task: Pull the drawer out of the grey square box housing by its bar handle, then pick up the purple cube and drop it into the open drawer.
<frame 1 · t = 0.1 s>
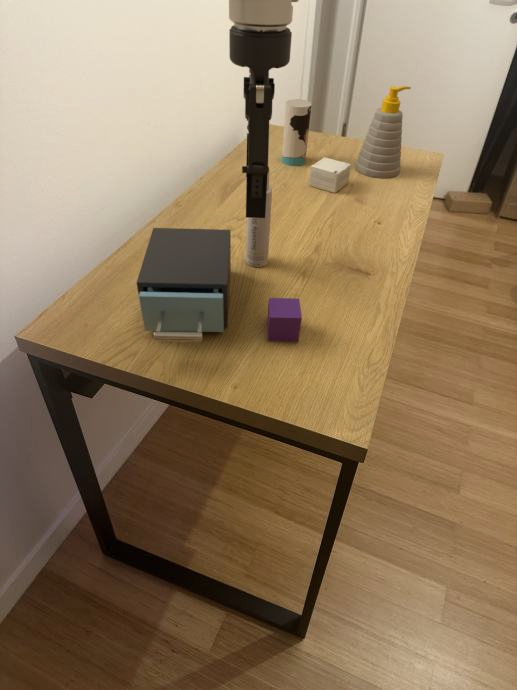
hand: (255, 195, 69), 19 cm above the table, tool pointing down, fingers open, 13 cm apart
drawer: (185, 296, 75), point 4 cm above the table, slide at 1.0 cm
grey square box housing: (190, 296, 82), on the table
soap bottle: (376, 169, 128), on the table
purple cube: (282, 331, 76), on the table
small box: (328, 185, 119), on the table
bottle: (256, 262, 92), on the table
cup: (293, 161, 130), on the table
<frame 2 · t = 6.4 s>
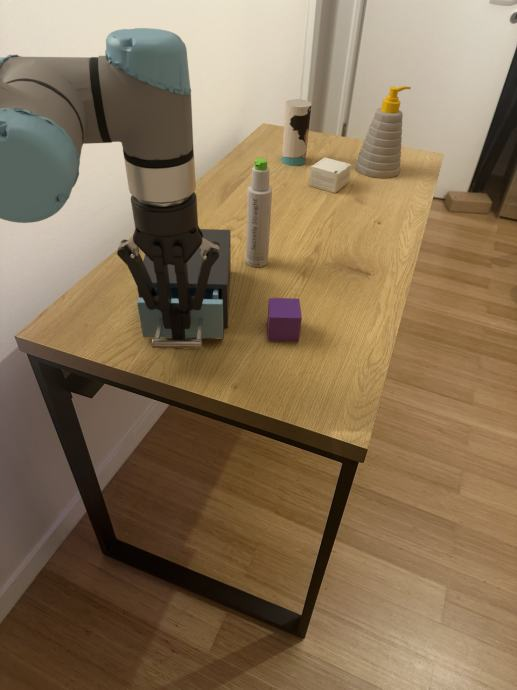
hand: (179, 342, 69), 3 cm above the table, tool pointing down, fingers closed
drawer: (184, 302, 74), point 4 cm above the table, slide at 2.5 cm, touching gripper
everything else where it was.
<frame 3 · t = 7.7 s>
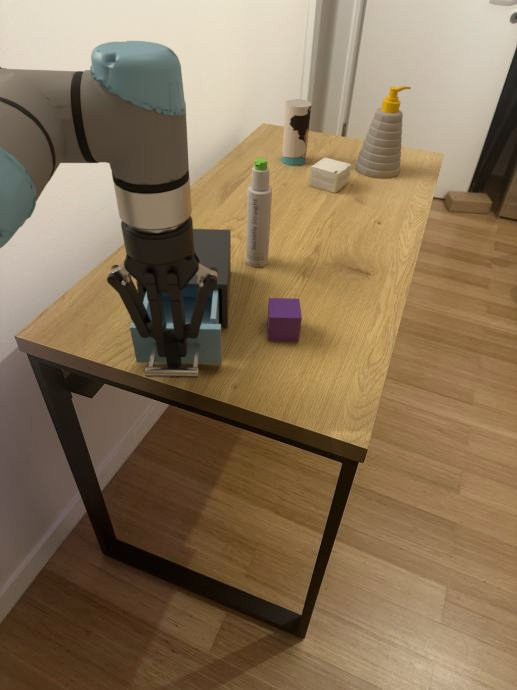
hand: (175, 370, 65), 3 cm above the table, tool pointing down, fingers closed
drawer: (180, 325, 70), point 4 cm above the table, slide at 8.2 cm, touching gripper
everything else where it was.
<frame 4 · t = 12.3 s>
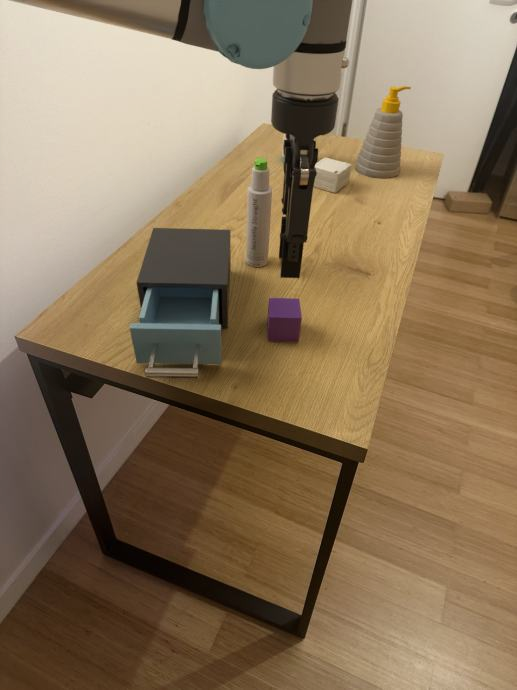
hand: (288, 266, 68), 13 cm above the table, tool pointing down, fingers open, 4 cm apart
drawer: (180, 325, 70), point 4 cm above the table, slide at 8.3 cm
everything else where it was.
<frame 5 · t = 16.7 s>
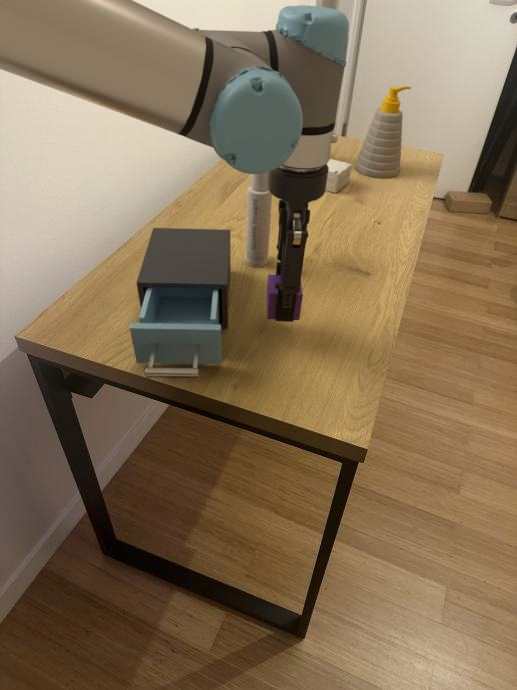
hand: (283, 308, 73), 5 cm above the table, tool pointing down, fingers closed on purple cube, 5 cm apart
purple cube: (282, 309, 73), point 5 cm above the table, touching gripper
everything else where it was.
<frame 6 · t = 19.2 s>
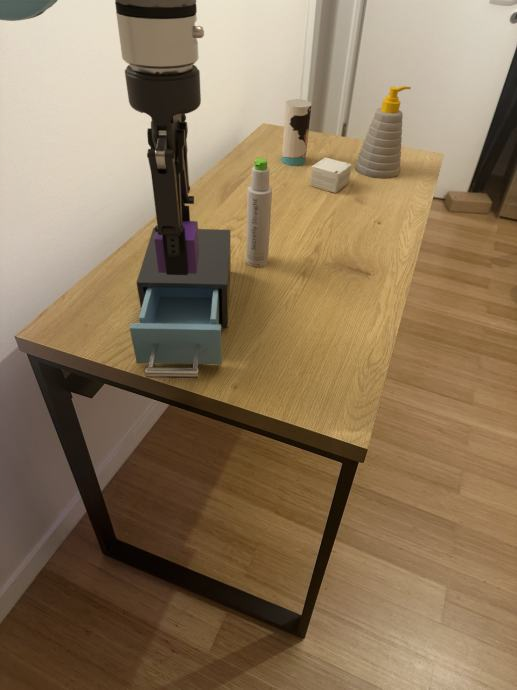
hand: (179, 261, 62), 16 cm above the table, tool pointing down, fingers closed on purple cube, 5 cm apart
purple cube: (179, 262, 63), point 15 cm above the table, touching gripper
everything else where it was.
when the fingers open (6 cm above the table, at t = 22.0 s): purple cube drops 3 cm, resting on drawer.
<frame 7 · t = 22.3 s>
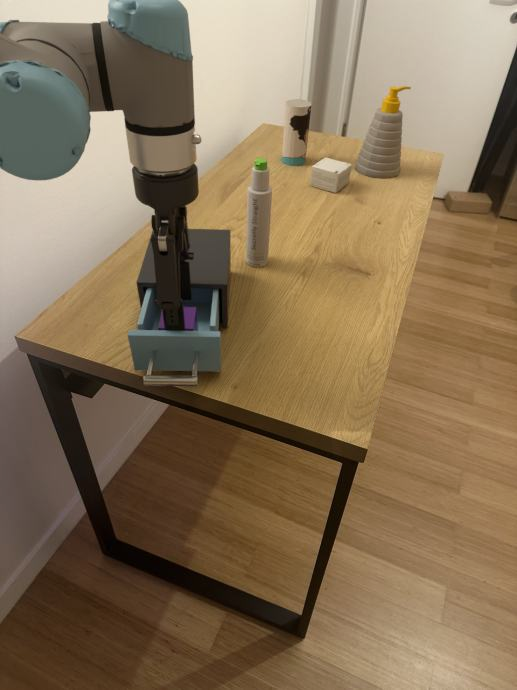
hand: (179, 316, 68), 6 cm above the table, tool pointing down, fingers open, 8 cm apart
drawer: (179, 332, 69), point 4 cm above the table, slide at 9.8 cm, touching purple cube
purple cube: (180, 342, 70), point 2 cm above the table, touching drawer
everything else where it was.
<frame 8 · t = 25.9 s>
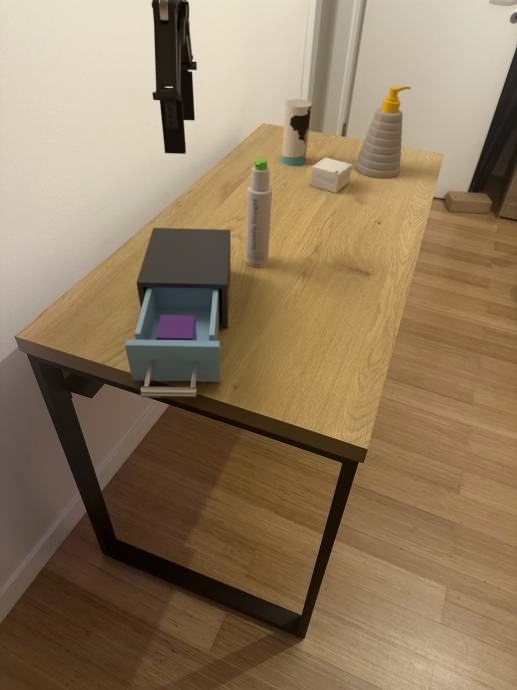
hand: (181, 135, 66), 27 cm above the table, tool pointing down, fingers open, 13 cm apart
drawer: (178, 341, 67), point 4 cm above the table, slide at 11.7 cm, touching purple cube
purple cube: (178, 351, 69), point 2 cm above the table, touching drawer
everything else where it was.
at the end: drawer slide at 11.7 cm; purple cube inside the target area in the drawer (3.4 cm from its centre), point 2.1 cm above the grey square box housing's base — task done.
